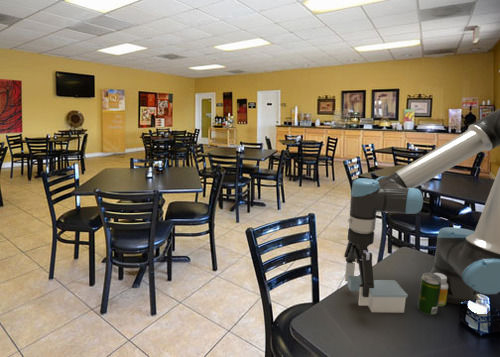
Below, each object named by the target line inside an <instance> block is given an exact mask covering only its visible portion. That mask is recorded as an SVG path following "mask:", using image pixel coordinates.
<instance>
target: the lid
mask: <svg viewBox="0 0 500 357" xmlns="http://www.w3.org/2000/svg"><path fill="white" fill-rule="evenodd" d="M373 280H374V288H370V294H371V295H372V297H406V298H408V293H407V292H406V291H405V290H404V289H403V287H401V286H400V284H399V283H398V282H397V281H396V280H395V279H390V280H389V279H373ZM346 282H347V284H346V285H347V287H348V288H349V291H350V292H359V291H360V286H359V285H360V284H361V277H360V275H354V276H348V281H346Z"/></svg>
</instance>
